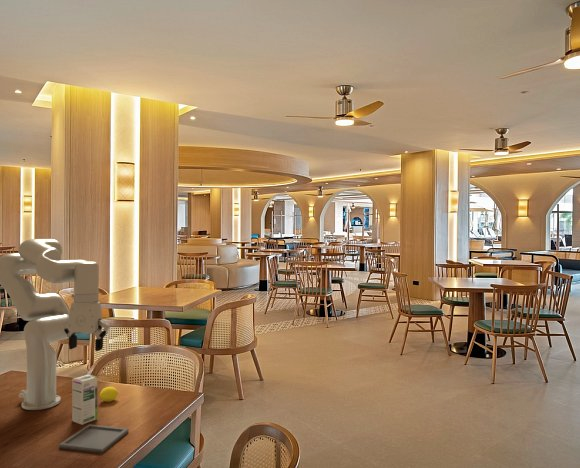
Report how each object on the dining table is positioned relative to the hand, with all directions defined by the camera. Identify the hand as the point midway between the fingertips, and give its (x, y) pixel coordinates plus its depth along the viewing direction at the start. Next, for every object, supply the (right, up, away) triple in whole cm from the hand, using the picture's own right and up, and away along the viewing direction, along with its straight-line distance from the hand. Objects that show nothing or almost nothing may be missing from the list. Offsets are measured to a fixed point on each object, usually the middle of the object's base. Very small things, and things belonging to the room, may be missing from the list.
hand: (85, 349), depth 152 cm
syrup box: (0, -24, 0) cm, 24 cm away
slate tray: (+9, -24, -14) cm, 29 cm away
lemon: (+1, -24, +17) cm, 30 cm away
